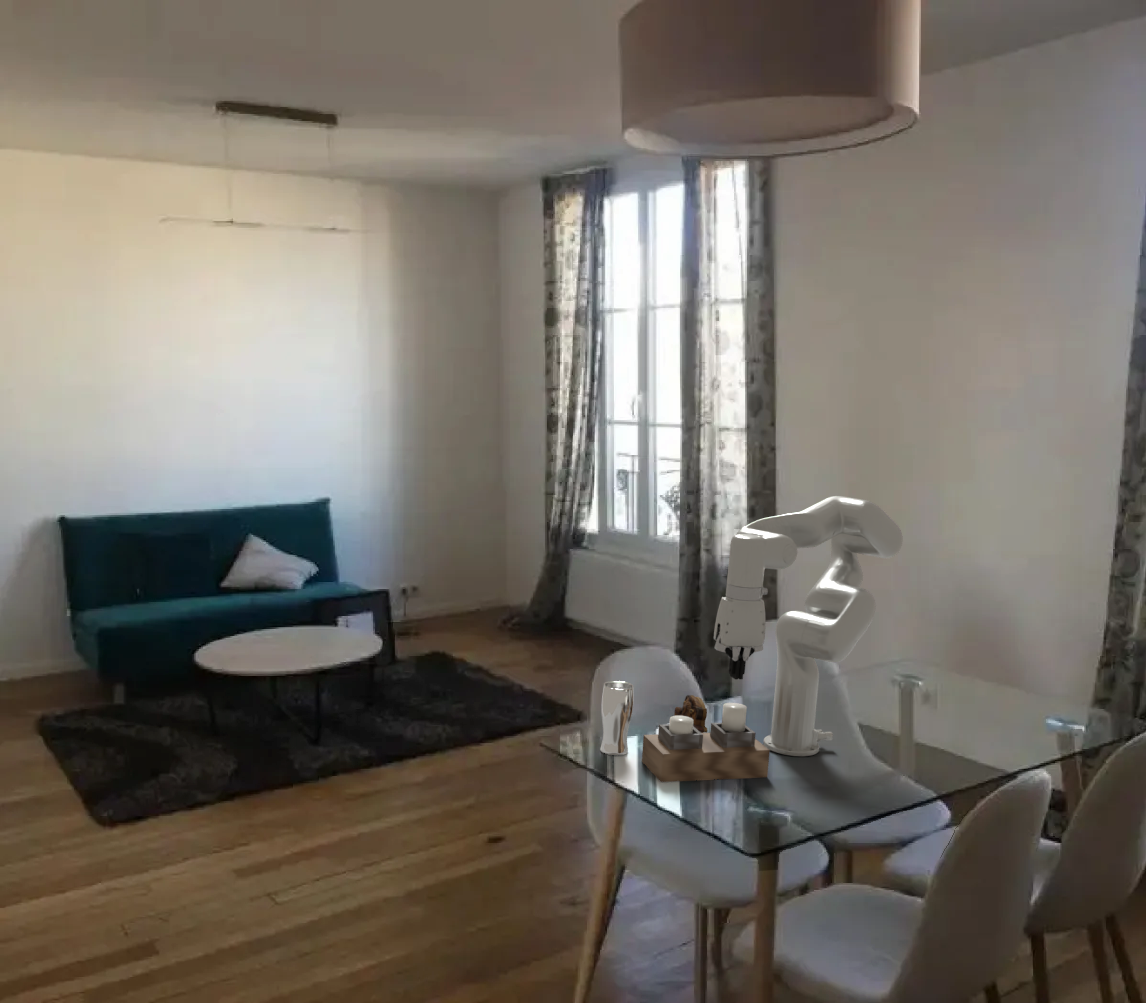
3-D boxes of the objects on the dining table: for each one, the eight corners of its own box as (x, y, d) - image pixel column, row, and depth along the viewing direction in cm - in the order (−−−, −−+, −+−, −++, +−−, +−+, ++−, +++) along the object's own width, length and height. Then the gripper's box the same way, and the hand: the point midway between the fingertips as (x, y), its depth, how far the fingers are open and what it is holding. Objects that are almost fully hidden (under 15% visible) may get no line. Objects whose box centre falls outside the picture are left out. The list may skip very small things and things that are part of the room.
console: (743, 757, 262) (747, 718, 261) (767, 777, 251) (770, 736, 250) (641, 761, 256) (644, 721, 254) (660, 782, 244) (664, 740, 243)
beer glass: (627, 758, 257) (632, 691, 255) (595, 754, 258) (600, 687, 256) (632, 748, 264) (636, 682, 262) (601, 744, 265) (605, 679, 263)
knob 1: (686, 737, 254) (688, 715, 253) (695, 745, 249) (697, 722, 248) (664, 738, 252) (666, 715, 252) (673, 746, 248) (674, 723, 247)
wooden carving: (665, 728, 280) (668, 687, 278) (683, 727, 281) (686, 686, 280) (693, 752, 264) (697, 708, 263) (712, 751, 265) (716, 708, 264)
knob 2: (739, 724, 257) (740, 702, 256) (748, 732, 252) (750, 709, 252) (717, 725, 256) (719, 703, 255) (727, 733, 251) (728, 710, 250)
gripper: (768, 590, 256) (760, 672, 258) (704, 588, 251) (696, 673, 254) (784, 597, 248) (775, 682, 251) (718, 596, 244) (710, 683, 246)
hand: (736, 677), depth 252 cm, fingers closed
